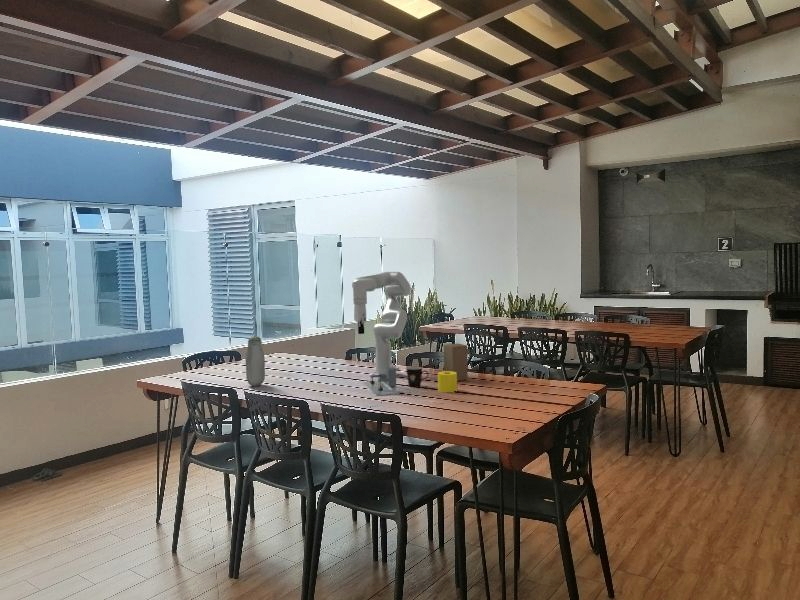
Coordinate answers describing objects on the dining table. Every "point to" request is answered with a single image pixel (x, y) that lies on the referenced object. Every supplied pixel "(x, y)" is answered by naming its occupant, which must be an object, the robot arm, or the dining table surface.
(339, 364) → the dining table surface
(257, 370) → the grey vase
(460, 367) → the wooden block
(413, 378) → the coffee mug
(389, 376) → the sliding jaw
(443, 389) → the tape roll
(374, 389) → the gauge board
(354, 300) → the robot arm
